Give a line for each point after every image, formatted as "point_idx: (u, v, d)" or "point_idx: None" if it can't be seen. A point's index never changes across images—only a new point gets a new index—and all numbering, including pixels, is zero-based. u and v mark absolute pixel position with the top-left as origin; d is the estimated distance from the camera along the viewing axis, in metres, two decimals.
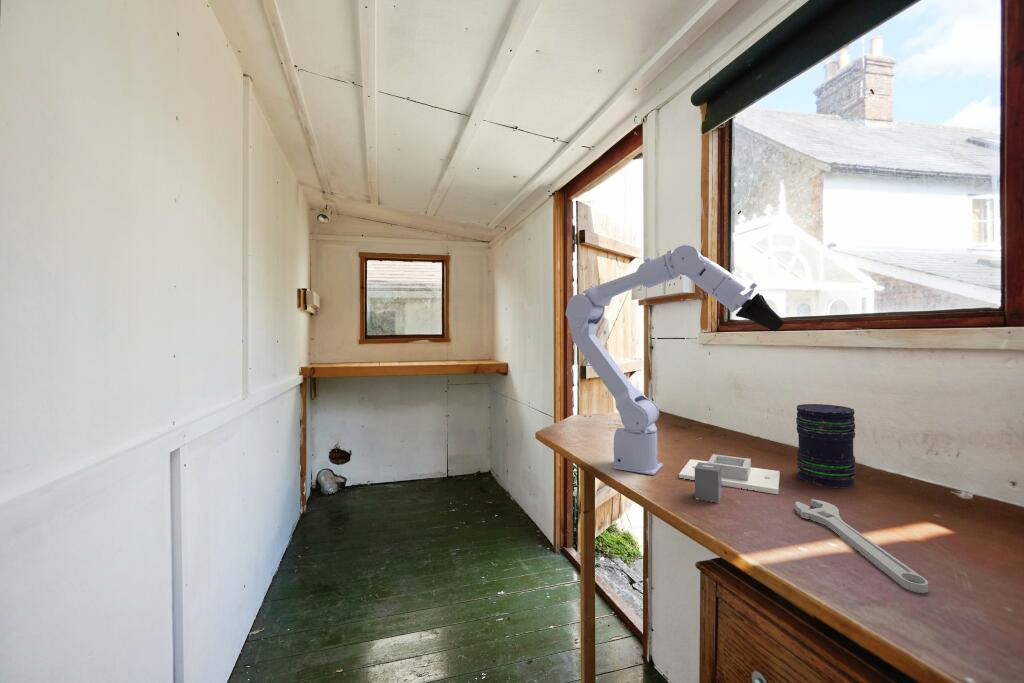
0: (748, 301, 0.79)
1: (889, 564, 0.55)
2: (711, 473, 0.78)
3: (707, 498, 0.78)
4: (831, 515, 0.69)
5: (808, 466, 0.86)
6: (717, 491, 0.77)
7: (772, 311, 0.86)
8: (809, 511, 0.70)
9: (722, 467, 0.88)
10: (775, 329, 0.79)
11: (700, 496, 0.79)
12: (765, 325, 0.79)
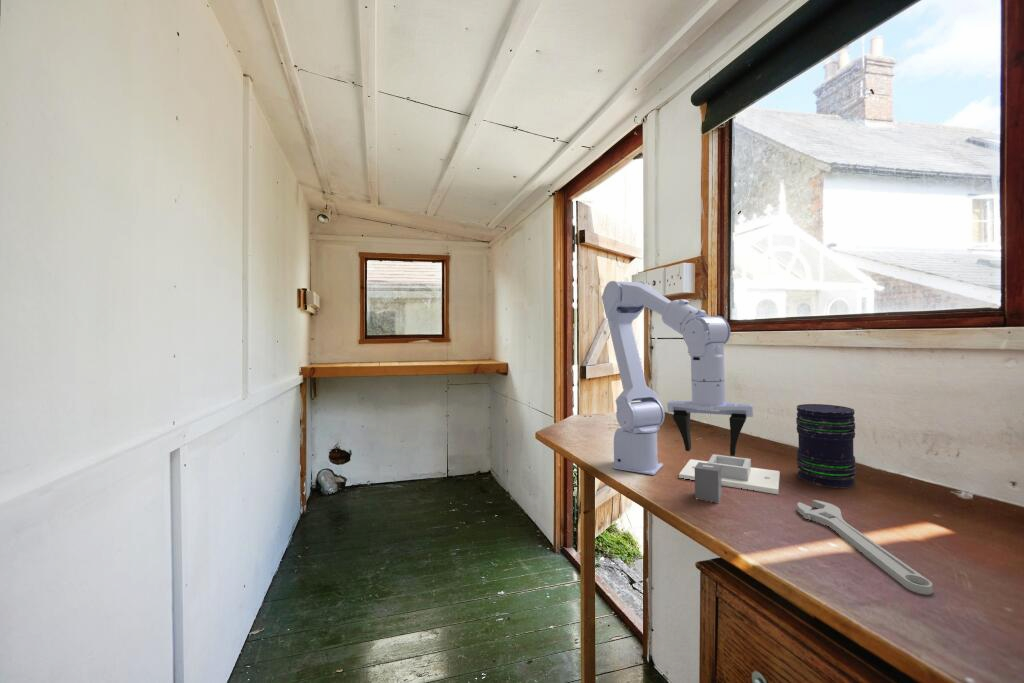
0: None
1: (892, 566, 0.55)
2: (711, 473, 0.78)
3: (707, 498, 0.78)
4: (833, 516, 0.69)
5: (808, 466, 0.86)
6: (717, 491, 0.77)
7: None
8: (811, 512, 0.70)
9: (722, 467, 0.88)
10: None
11: (700, 496, 0.79)
12: None
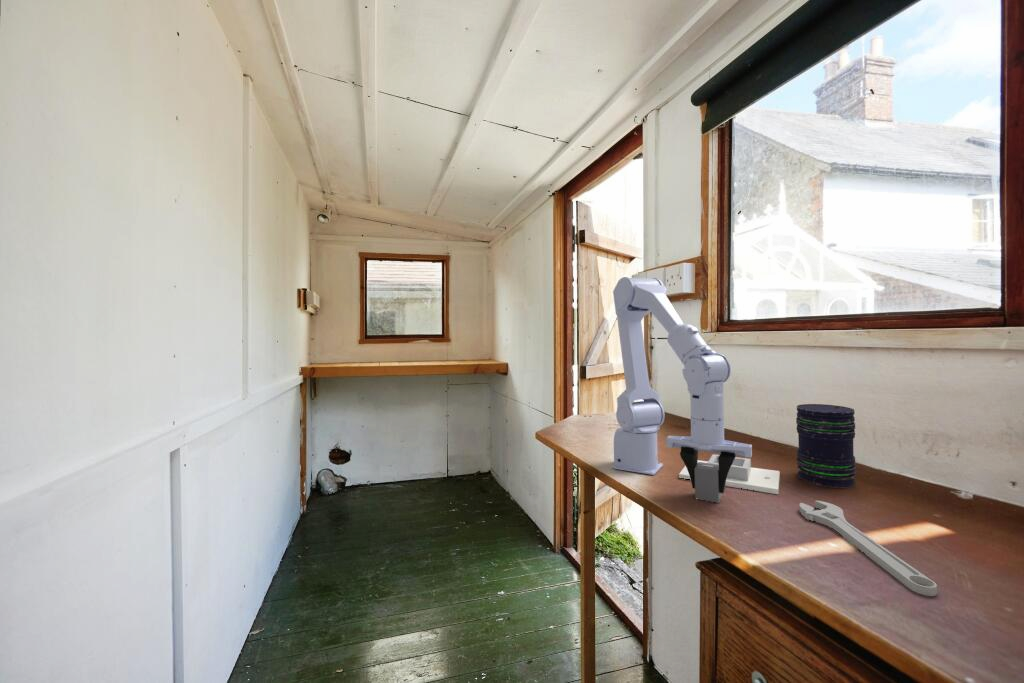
0: None
1: (896, 567, 0.54)
2: (711, 473, 0.78)
3: (707, 498, 0.78)
4: (836, 516, 0.68)
5: (808, 466, 0.86)
6: (717, 491, 0.77)
7: (719, 476, 0.78)
8: (813, 512, 0.70)
9: None
10: None
11: (700, 496, 0.79)
12: None
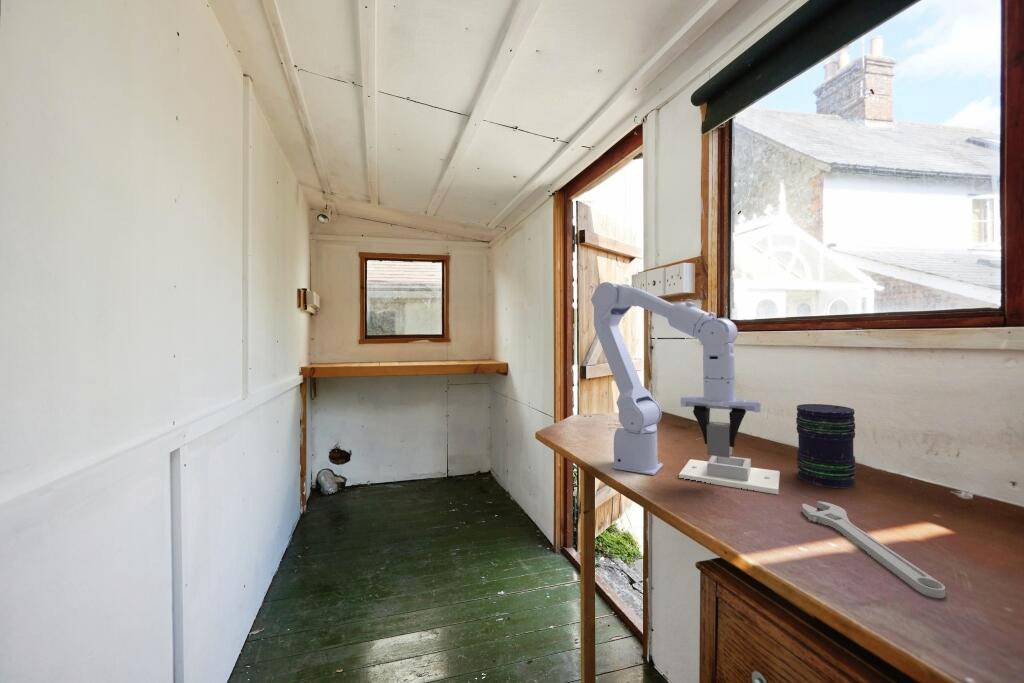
0: None
1: (903, 568, 0.54)
2: (722, 429, 0.83)
3: (718, 453, 0.84)
4: (839, 517, 0.68)
5: (808, 466, 0.86)
6: (728, 446, 0.83)
7: (730, 431, 0.83)
8: (817, 513, 0.69)
9: (722, 467, 0.88)
10: None
11: (712, 451, 0.84)
12: None
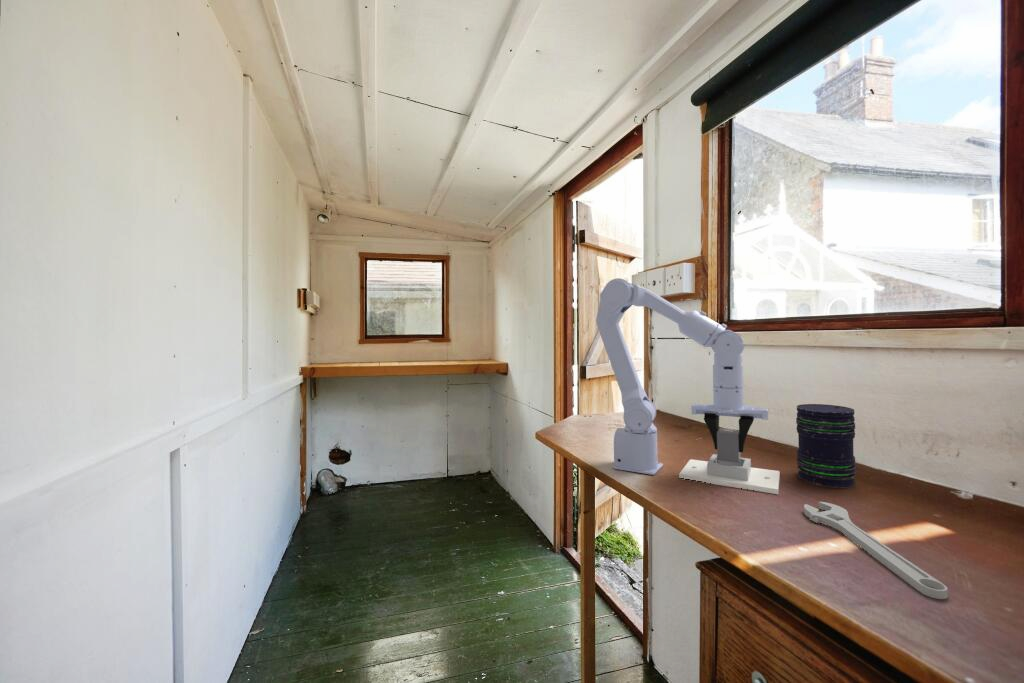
0: None
1: (905, 569, 0.54)
2: (732, 436, 0.88)
3: (728, 458, 0.88)
4: (841, 518, 0.68)
5: (808, 466, 0.86)
6: (737, 452, 0.87)
7: None
8: (818, 514, 0.69)
9: (722, 467, 0.88)
10: None
11: (722, 457, 0.89)
12: None
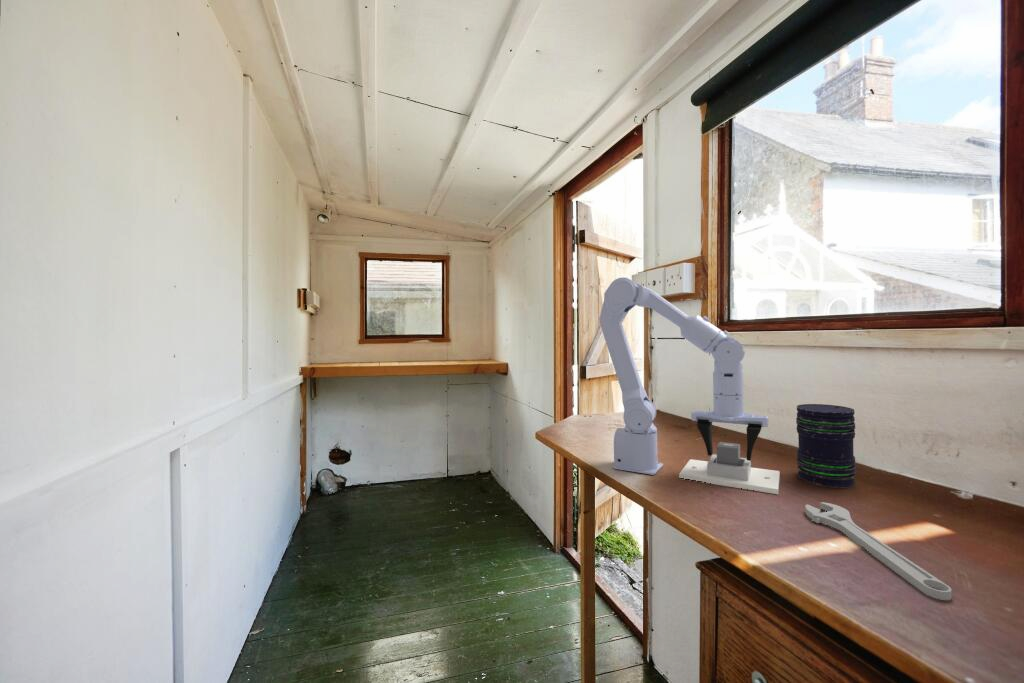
0: None
1: (908, 570, 0.54)
2: (732, 450, 0.88)
3: None
4: (843, 518, 0.68)
5: (808, 466, 0.86)
6: None
7: (747, 445, 0.87)
8: (820, 514, 0.69)
9: (722, 467, 0.88)
10: None
11: None
12: None
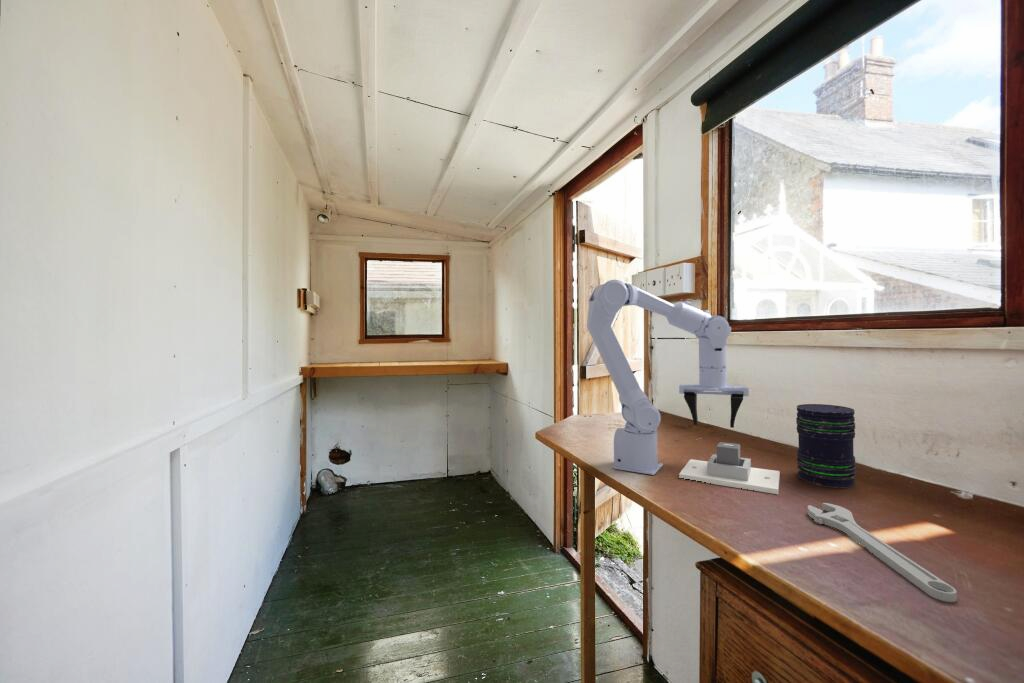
0: None
1: (912, 571, 0.53)
2: (732, 450, 0.88)
3: None
4: (845, 519, 0.67)
5: (808, 466, 0.86)
6: None
7: None
8: (823, 515, 0.69)
9: (722, 467, 0.88)
10: None
11: None
12: None
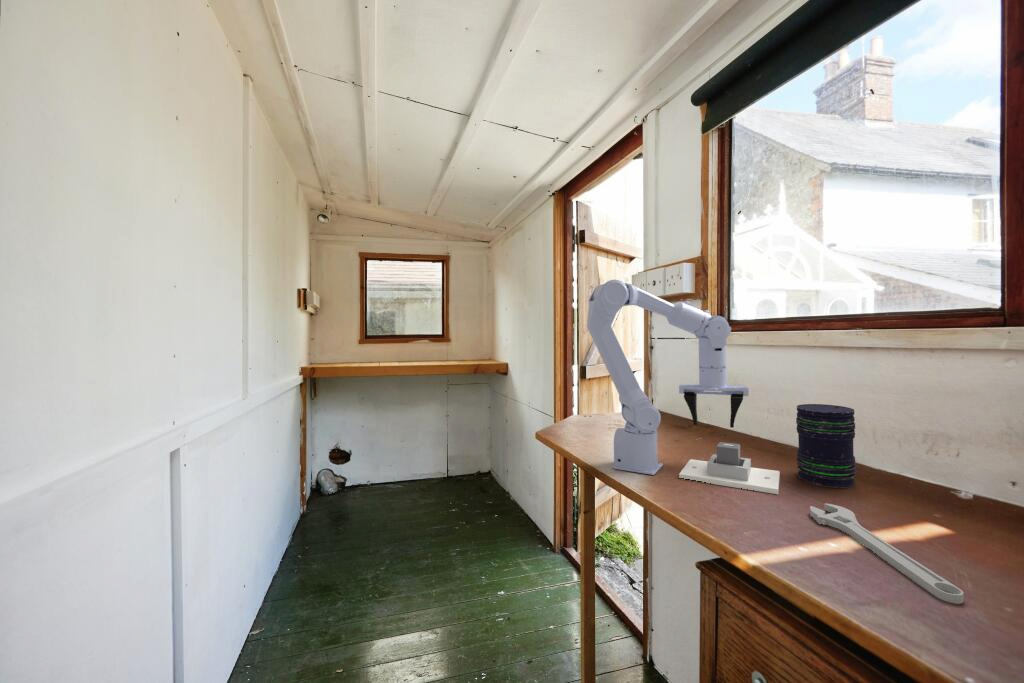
0: (684, 394, 1.01)
1: (918, 573, 0.53)
2: (732, 450, 0.88)
3: None
4: (848, 520, 0.67)
5: (808, 466, 0.86)
6: None
7: None
8: (825, 516, 0.68)
9: (722, 467, 0.88)
10: None
11: None
12: None
